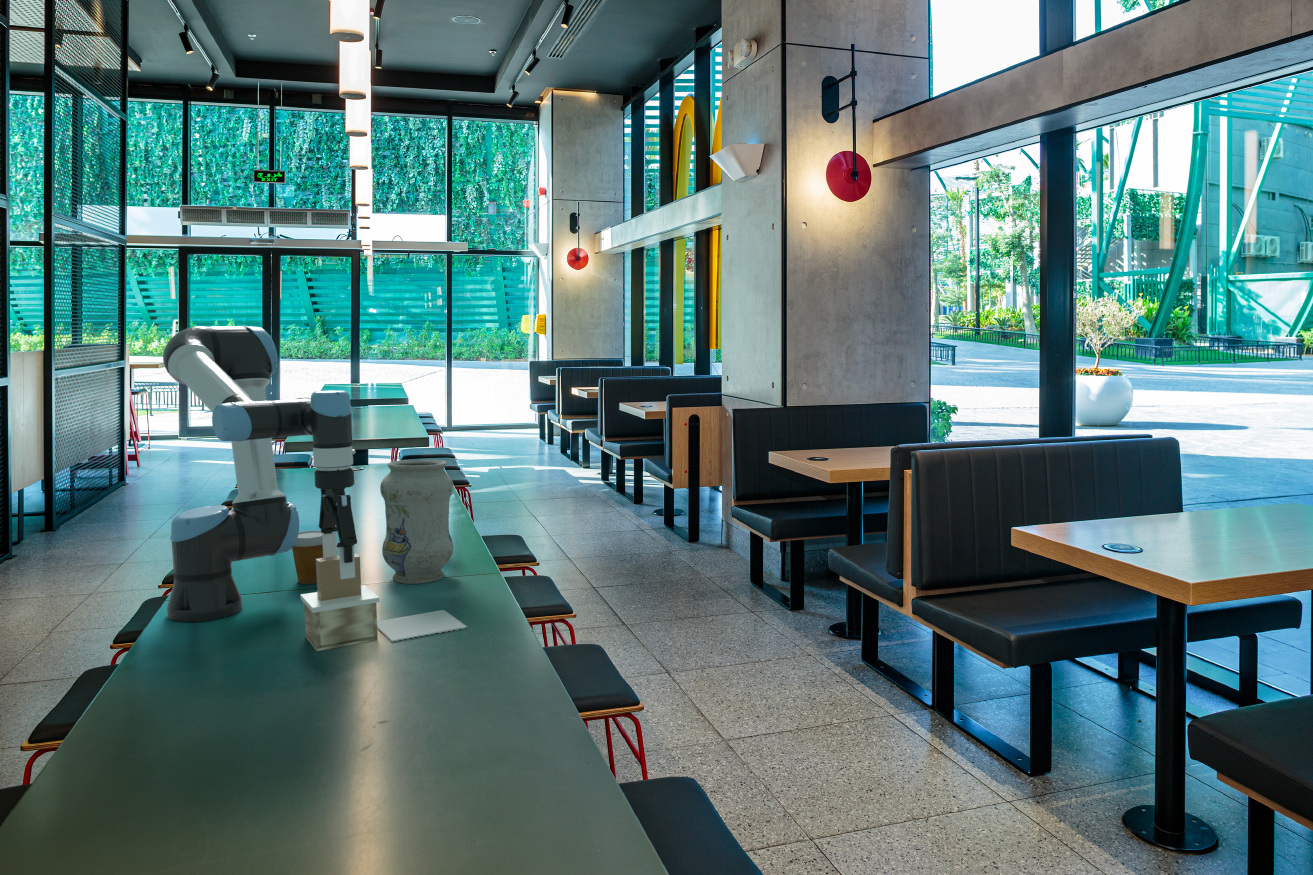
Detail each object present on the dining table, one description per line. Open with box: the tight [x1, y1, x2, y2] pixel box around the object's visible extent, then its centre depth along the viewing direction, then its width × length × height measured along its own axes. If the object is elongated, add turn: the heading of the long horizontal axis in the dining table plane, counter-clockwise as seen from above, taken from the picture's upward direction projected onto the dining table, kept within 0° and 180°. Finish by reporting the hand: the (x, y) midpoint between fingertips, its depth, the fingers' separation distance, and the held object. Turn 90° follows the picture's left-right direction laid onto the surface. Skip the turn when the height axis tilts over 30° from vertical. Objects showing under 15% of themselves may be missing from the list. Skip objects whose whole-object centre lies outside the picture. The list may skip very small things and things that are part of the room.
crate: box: [303, 603, 379, 652], centre depth 188 cm, size 12×10×8 cm
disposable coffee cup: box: [291, 530, 324, 585], centre depth 232 cm, size 10×10×12 cm
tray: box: [377, 609, 468, 643], centre depth 197 cm, size 16×14×1 cm
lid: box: [299, 553, 380, 613], centre depth 187 cm, size 13×11×10 cm
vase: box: [379, 458, 454, 585], centre depth 234 cm, size 18×18×30 cm
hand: (339, 570), depth 187 cm, fingers open, 13 cm apart
